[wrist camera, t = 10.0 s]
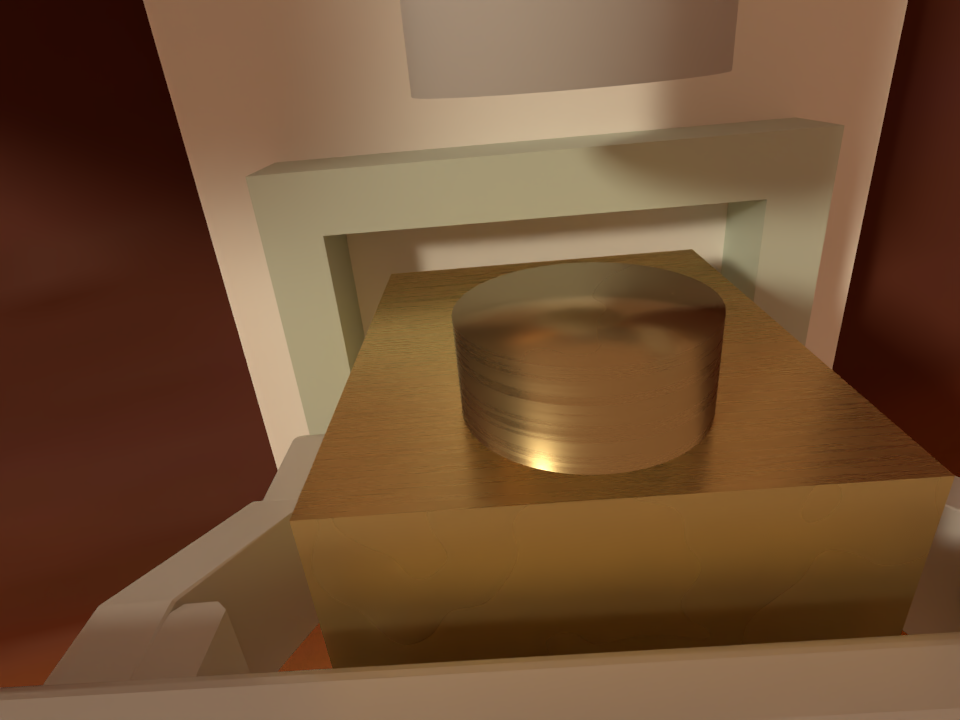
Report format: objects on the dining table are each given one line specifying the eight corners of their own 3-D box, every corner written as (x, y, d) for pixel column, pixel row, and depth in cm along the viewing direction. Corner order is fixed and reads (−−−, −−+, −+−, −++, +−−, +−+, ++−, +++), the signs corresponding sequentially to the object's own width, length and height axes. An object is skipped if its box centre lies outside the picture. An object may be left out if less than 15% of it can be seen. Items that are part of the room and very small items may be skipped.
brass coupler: (670, 527, 12) (816, 880, 7) (433, 543, 13) (401, 899, 7) (696, 187, 9) (996, 353, 4) (381, 214, 9) (256, 410, 4)
